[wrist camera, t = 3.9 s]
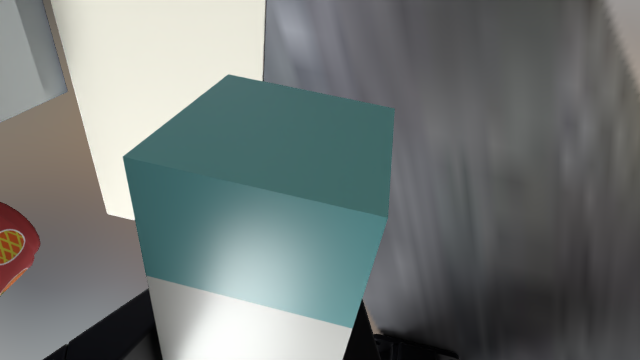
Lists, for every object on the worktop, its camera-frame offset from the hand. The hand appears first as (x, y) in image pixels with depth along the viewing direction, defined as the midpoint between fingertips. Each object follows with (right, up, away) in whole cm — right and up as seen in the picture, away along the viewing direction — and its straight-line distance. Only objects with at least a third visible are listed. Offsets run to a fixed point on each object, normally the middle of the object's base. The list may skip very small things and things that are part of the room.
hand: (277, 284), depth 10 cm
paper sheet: (-8, +6, +11) cm, 15 cm away
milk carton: (0, +1, +1) cm, 1 cm away
